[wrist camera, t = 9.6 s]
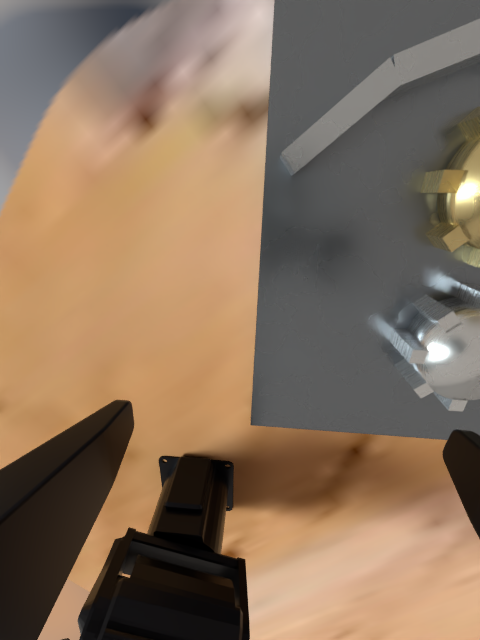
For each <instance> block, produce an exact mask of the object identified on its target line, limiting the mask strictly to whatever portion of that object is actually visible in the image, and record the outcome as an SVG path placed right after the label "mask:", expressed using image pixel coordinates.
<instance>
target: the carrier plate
mask: <svg viewBox="0 0 480 640" xmlns="http://www.w3.org/2000/svg"><path fill="white" fill-rule="evenodd" d="M479 106H480V0H275V4H274V21H273V39H272V57H271V74H270V92H269V110H268V127H267V145H266V162H265V180H264V198H263V215H262V233H261V251H260V268H259V286H258V304H257V321H256V339H255V356H254V374H253V392H252V409H251V425H256V426H270V427H283V428H296V429H309V430H323V431H336V432H349V433H363V434H376V435H389V436H403V437H416V438H429V439H443V440H448V438H449V436H450V434H451V432H452V431H453V430H456V429H460V430H470V431H473V432H475V433H477V434H478V435H480V268H478V267H475V266H472V265H469V264H467V261H468V259H469V256H470V253H471V250H472V247H468V246H465V245H461V246H460V247H458V248H457V249H456V250H454V251H453V252H449V251H446V250H443V249H439V248H436V247H434V246H433V245H432V243H431V242H430V240H429V239H428V237H427V236H426V233H427V232H429V231H430V230H431V229H433V228H434V227H435V226H437V225H438V224H439V223H441V221H440V219H439V215H438V209H437V197H438V193H420V192H421V188H422V185H423V181H424V177H425V173H426V172H431V171H438V170H445V169H446V167H447V165H448V163H449V162H450V160H451V158H452V157H453V155H454V154H455V153H456V151H457V150H458V149H459V147H460V146H461V145H462V144H463V143H464V142H465V141H466V140H465V138H464V136H463V134H462V133H461V131H460V129H459V127H458V126H457V124H458V123H459V122H460V121H462V120H463V119H464V118H465V117H466V116H467V115H469V114H470V113H471V112H472V111H473V110H475V109H476V108H477V107H479Z"/></svg>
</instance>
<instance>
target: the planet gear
mask: <svg viewBox="0 0 480 640" xmlns="http://www.w3.org/2000/svg"><path fill="white" fill-rule="evenodd" d="M457 126H458V127H459V129H460V131H461V133H462V134H463V136H464V138H465V140H466V141H465V142H464V143H463V144H462V145H461V146H460V147H459V149H458V150H457V151H456V153H455V154H454V155H453V157H452V158H451V160H450V162H449V163H448V165H447V167H446V169H445V170H438V171H431V172H426V173H425V177H424V181H423V185H422V188H421V192H420V193H438V197H437V209H438V215H439V219H440V221H441V223H439V224H438V225H437V226H435V227H434V228H433V229H431V230H430V231H429V232H427V233H426V236H427V237H428V239H429V240H430V242H431V243H432V245H433V246H434V247H436V248H439V249H443V250H446V251H449V252H453V251H454V250H456V249H457V248H458V247H460V246H461V245H465V246H468V247H472V250H471V253H470V256H469V259H468V261H467V264H469V265H472V266H475V267H478V268H480V106H479V107H477V108H476V109H475V110H473V111H472V112H471V113H470V114H469V115H467V116H466V117H465V118H464V119H463V120H462V121H460V122H459V123H458V124H457Z"/></svg>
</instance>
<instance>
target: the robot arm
mask: <svg viewBox="0 0 480 640" xmlns="http://www.w3.org/2000/svg"><path fill="white" fill-rule="evenodd" d="M133 429H134V417H133V409H132V404H131V402H130V401H127V400H115V401H113V402H111V403H110V404H108V405H106V406H105V407H103V408H101V409H100V410H98V411H96V412H95V413H93V414H92V415H90V416H88V417H87V418H85V419H83V420H82V421H80V422H78V423H77V424H75V425H73V426H72V427H70V428H68V429H67V430H65V431H63V432H62V433H60V434H58V435H57V436H55V437H54V438H52V439H50V440H49V441H47V442H45V443H44V444H42V445H40V446H39V447H37V448H35V449H34V450H32V451H30V452H29V453H27V454H25V455H24V456H22V457H20V458H19V459H17V460H16V461H14V462H12V463H11V464H9V465H7V466H6V467H4V468H2V469H1V470H0V640H37V639H38V637H39V635H40V633H41V631H42V629H43V627H44V625H45V623H46V621H47V619H48V616H49V615H50V613H51V611H52V608H53V606H54V604H55V602H56V600H57V598H58V596H59V594H60V592H61V590H62V588H63V586H64V584H65V582H66V580H67V578H68V576H69V574H70V572H71V570H72V568H73V566H74V564H75V562H76V559H77V557H78V555H79V553H80V551H81V549H82V547H83V545H84V543H85V541H86V539H87V537H88V535H89V533H90V531H91V529H92V527H93V525H94V523H95V521H96V519H97V517H98V515H99V513H100V510H101V508H102V506H103V504H104V502H105V500H106V498H107V496H108V494H109V492H110V490H111V488H112V485H113V483H114V481H115V478H116V476H117V473H118V470H119V468H120V465H121V462H122V459H123V457H124V454H125V451H126V449H127V446H128V443H129V441H130V438H131V435H132V433H133ZM163 459H166V460H167V462H164V461H162V460H163ZM443 459H444V462H445V464H446V467H447V469H448V471H449V474H450V476H451V478H452V480H453V483H454V485H455V487H456V490H457V492H458V494H459V497H460V499H461V501H462V504H463V506H464V508H465V510H466V513H467V515H468V517H469V519H470V521H471V523H472V525H473V527H474V529H475V531H476V533H477V535H478V537H479V538H480V435H478V434H477V433H475V432H473V431H470V430H460V429H456V430H453V431H452V432H451V434H450V436H449V438H448V441H447V443H446V445H445V447H444V449H443ZM227 464H228V465H230V467H226V466H225V465H227ZM159 466H160V474H161V481H162V492H161V494H160V497H159V500H158V503H157V506H156V509H155V512H154V515H153V518H152V521H151V524H150V527H149V530H148V533H147V534H145V533H142V532H138V531H136V529H133V528H130V527H129V528H128V530H127V533H126V535H125V537H124V536H123V537H122V538H118V539H115V541H114V543H113V546H112V548H111V550H110V553H109V555H108V557H107V560H106V562H105V564H104V566H103V569H102V571H101V573H100V575H99V576H98V578H97V580H96V582H95V584H94V586H93V588H92V590H91V592H90V594H89V596H88V598H87V600H86V602H85V604H84V606H83V608H82V610H81V612H80V615H79V618H78V624H79V629H80V633H81V636H80V639H79V640H249V639H250V631H249V612H248V596H247V580H246V565H245V559H242V558H239V557H238V558H237V559H236V558H233V557H229V556H225V555H222V554H221V549H222V541H223V532H224V523H225V515H226V511H230V510H232V508H233V473H234V465H233V463H232V462H230V461H221V460H210V459H208V458H196V457H183V456H182V457H172V456H161V457H160V458H159ZM226 506H229V508H226ZM122 573H124V574H128V575H131V576H130V578H128V577H125V576H122Z"/></svg>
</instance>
